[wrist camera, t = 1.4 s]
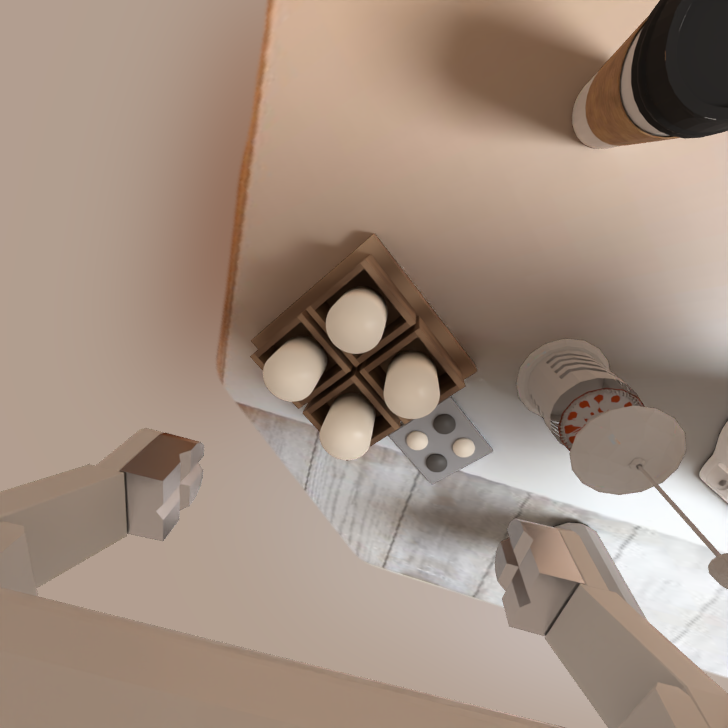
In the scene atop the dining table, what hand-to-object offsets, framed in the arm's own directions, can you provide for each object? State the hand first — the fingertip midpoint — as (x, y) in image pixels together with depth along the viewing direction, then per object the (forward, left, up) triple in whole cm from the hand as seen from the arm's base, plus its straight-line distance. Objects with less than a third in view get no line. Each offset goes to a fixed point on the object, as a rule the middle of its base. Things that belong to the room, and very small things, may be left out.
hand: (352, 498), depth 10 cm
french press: (-20, -8, -33) cm, 40 cm away
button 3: (-7, +4, -28) cm, 29 cm away
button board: (-3, +8, -33) cm, 34 cm away
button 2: (+1, +12, -28) cm, 30 cm away
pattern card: (-18, +8, -33) cm, 38 cm away
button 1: (+1, +4, -28) cm, 28 cm away
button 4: (-7, +12, -28) cm, 31 cm away
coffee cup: (+1, -23, -33) cm, 40 cm away
